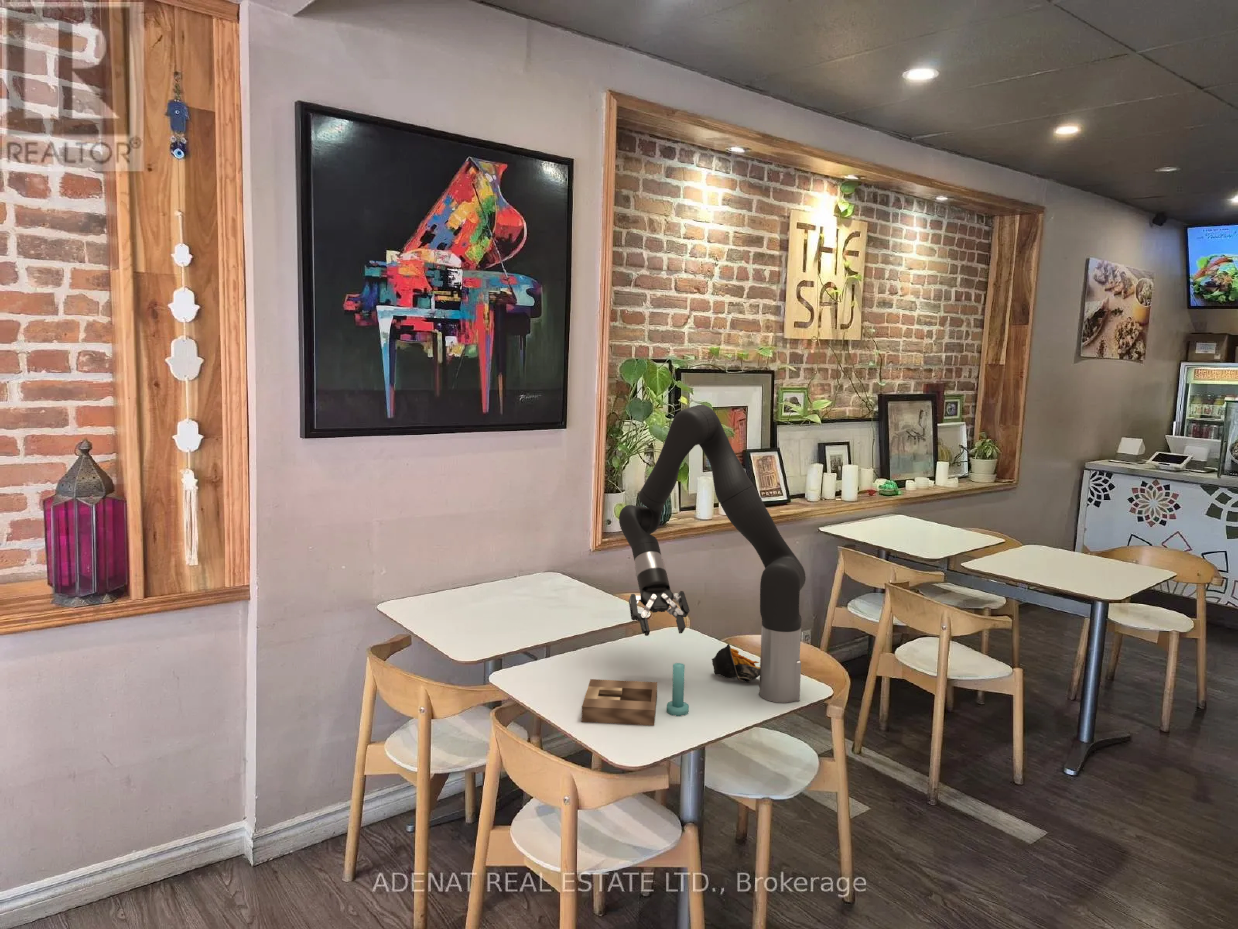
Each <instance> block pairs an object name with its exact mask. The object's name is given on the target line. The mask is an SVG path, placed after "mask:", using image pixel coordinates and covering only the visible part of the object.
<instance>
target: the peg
mask: <svg viewBox="0 0 1238 929" xmlns="http://www.w3.org/2000/svg"><path fill="white" fill-rule="evenodd" d="M671 694H672V695H671V697H672V698H671V701H669V702H667V703H666V713H667V714H668V715H670V716H673V715H676V716H675V717H682V716H681V715H684V716H686V715H689V713H688V712H690V711H689V709H690V705H689V703H688V702H685V700H684V699H685V698H684V697H685V664H684V663H682V662H675V663H673V664H672V692H671Z"/></svg>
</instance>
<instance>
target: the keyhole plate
mask: <svg viewBox="0 0 1238 929" xmlns="http://www.w3.org/2000/svg"><path fill="white" fill-rule="evenodd" d="M657 699H658V681H642V680H641V681H640V680H637V681H635V680H621V679H620V680H616V679H597V678H595V679H594V678H593V679H592V678H590V680H589V683H588V686H587V690H586V692H585V695H584V699H583V700H582V701H583V702H582V705H581V722H582V723H596V722H598V724H599V723H600V724H615V723H616V724H617V725H619V724H620V725H636V726H638V725H640V726H655V720H656V710H657Z"/></svg>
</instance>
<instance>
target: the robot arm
mask: <svg viewBox="0 0 1238 929" xmlns="http://www.w3.org/2000/svg"><path fill="white" fill-rule="evenodd" d="M696 446H699V447H700V448H701V451H702V452H703V453H704V455H705V457H706V458H707V460H708V462H709V465H710V468H711V473H712V480H713V481H712V482H713V486H714V487H713V488H714V492H715V496H716V498H717V501H718V503H719V504H720V507H721V509H722V510H723V512H724V513H725V515H726V518H728V520H729V522H730V523H731V524H732V525H733V527H734V528H735V529H736V530H737V531H738V532H739V533H740V534H741V535H742V536H743V537H744V538H745V539H746V540H747V541H748V542H749V543H750V544H751V545H752V546H753V548H754V549H755V551H756V553H757V555H758V557H759V559H760V560H761V562H762V564H763V567H764V570H763V571H762V574H761V577H760V582H759V583H760V585H759V614H760V617H761V629H760V630H761V631H760V632H761V634H760V635H761V636H760V655H759V656H760V657H759V658H760V661H759V663H760V664H759V667H760V676H759V682H758V683H759V684H758V687H759V690H758V694H759V697H761V698H762V699H765V700H766V701H770V702H774V703H783V704H784V703H785V704H786V703H792V702H799V701H800V698H801V697H800V696H801V695H800V693H801V675H802V674H801V673H802V671H801V670H802V661H801V659H800V658H801V640H802V639H801V637H802V616H801V614H800V593H801V590H802V589H803V588H804V586H805V584H806V579H807V578H806V571H805V568H804V566H803V564H802V563H801V562H800V560H799V559H798V557H797V556H796V554H795V553H794V552H793V550H792V549H791V547H790V546H789V545H788V543H787V542H786V541H785V540H784V537H782V535H781V533H780V532H779V530H778V527H777V526H776V523H775V521H774V520H773V518H772V516H771V514H770V513H769V511H768V508H767V506H766V505H765V503H764V501H763V500H762V498H761V495H760V494H759V491H757V489H756V487H755V485H754V483H753V482H752V480H751V479H750V478H749V475H748V474H747V471H745V468H744V466H743V465H742V463H741V461H740V459H739V458H738V455H737V454H736V453H735V451H734V449H733V447H732V444H731V443H730V440H729V439H728V436H727V433H726V432H725V430H724V427H723V425H722V422H721V421H720V418H719V416H718V415H717V414H716V412H715V411H714V410H713V409H712V407H709V406H708V405H705V404H697V405H693V406H690V407H687V408H684V409H681V410H679V411H678V412H677V413H676V414H675V415H674V417H673V419H672V421H671V423H670V426H669V428H668V432H667V434H666V438H665V440H664V444H663V446H662V447H661V450H660V453H659V455H658V458H657V460H656V463H655V465H654V466H653V468H652V470H651V472H650V474H649V475H648V477H647V479H646V481H645V482H644V484H643V486H642V487H641V489H640V490H639V493H638V499H639V501H640V502H641V503H640V504H642V505H643V506H638V505H633V504H627V505H626V506H624V507H623V508H621V510H620V512H619V516H618V523H619V526H620V530H621V531H622V532H621V533H622V534H623V536H624V537H625V539H626V541H627V543H628V544H629V547H630V548H631V552H632V557H633V561H634V570H635V577H636V581H637V584H638V589H639V594H640V595H636V594H635V593H631V594H630V597H629V599H628V605H629V612H630V619H631V621H638V622H639V624H640V630H641V633H642V634H644V636H646V637H647V636H649V635H650V632H651V631H650V625H649V621H648V617H647V616H648V615H649V612H651V613H653V614H654V613H659V612H660V613H665V612H667V613H668V614H669V615H670V616H673V617H674V618H675V622H676V623H675V624H676V626H677V631H678V634H683V633H684V631H685V629H686V624H685V619H684V618H687V617H688V615H689V613H690V606H689V604H688V601H687V597H686V594H685V591H683V590H680V591H679V592H677V593H673V592H672V590H671V586H670V581H669V578H668V572H667V569H666V566H665V562H664V559H663V556H662V552H661V548H660V544H659V542H658V541H659V540H658V539H657V537H656V536H654V535H652V534H653V533H654V532H656V531H657V529H658V528H659V526H660V524H661V523H660V522H661V518H662V514H663V510H664V506H665V504H666V502H667V500H668V499H669V497H670V495H671V494H672V492H673V491H674V488H675V486H676V484H677V482H678V477H679V473H680V468H681V466H682V463H683V462H684V460H685V459H686V457H687V456H688V454H689V453H690V452H691V451H692V450H693V449H694V448H695V447H696ZM644 506H645V507H644ZM673 600H675V601H676V603H678V605H679V607H680V608H679V607H678V605H677V604H676V603H675V601H673ZM639 602H640V603H641V604H642V605H643V606H644V608H643V610H642V612H641V613H640V612H639V610H638V609H639V608H638V604H639Z"/></svg>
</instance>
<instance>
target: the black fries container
mask: <svg viewBox="0 0 1238 929" xmlns="http://www.w3.org/2000/svg"><path fill="white" fill-rule="evenodd" d="M731 647H732V646H731V645H730V643H727V645H726V646H725V647H723V648H721V649H719V650H718V651H717V652H716V654H715V656H714V657H713V658H711V661H712V662H711V663H712V666H713V674H714V675H715V676H717V675H718V676H722V677H724V678H726V679H737V680H738V681H742V682H745V681H746V682H745V683H747V682H752V681H751V680H755V679H757V678H758V677H760V666H757V665H756V664H759V663H760V661H757V660H752V659H750V658H748V657H746V656H744V655H741V654H739V650H738V649H736V648H731Z"/></svg>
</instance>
